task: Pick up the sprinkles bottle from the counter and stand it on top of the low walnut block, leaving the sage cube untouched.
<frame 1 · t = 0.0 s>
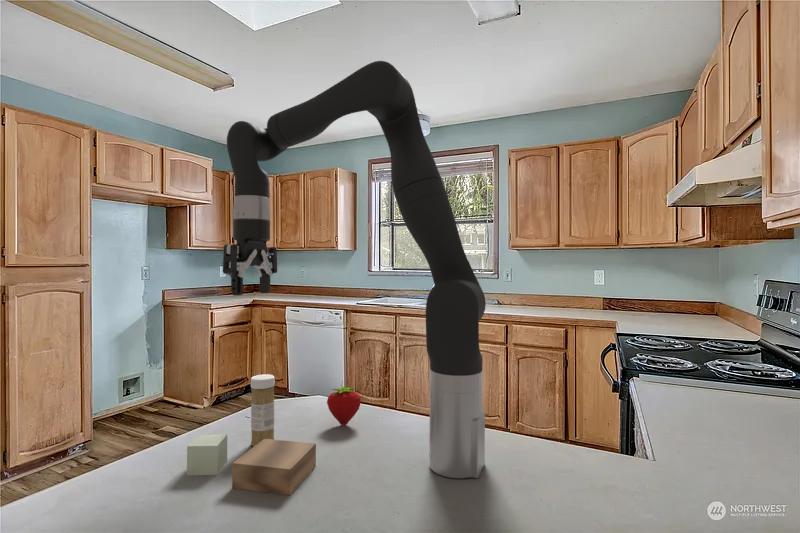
hand: (251, 294, 94), 29 cm above the countertop, tool pointing down, fingers open, 8 cm apart
sage cube: (207, 468, 76), on the countertop
sprinkles bottle: (262, 445, 87), on the countertop
walnut block: (276, 476, 74), on the countertop
strawberry: (343, 426, 97), on the countertop
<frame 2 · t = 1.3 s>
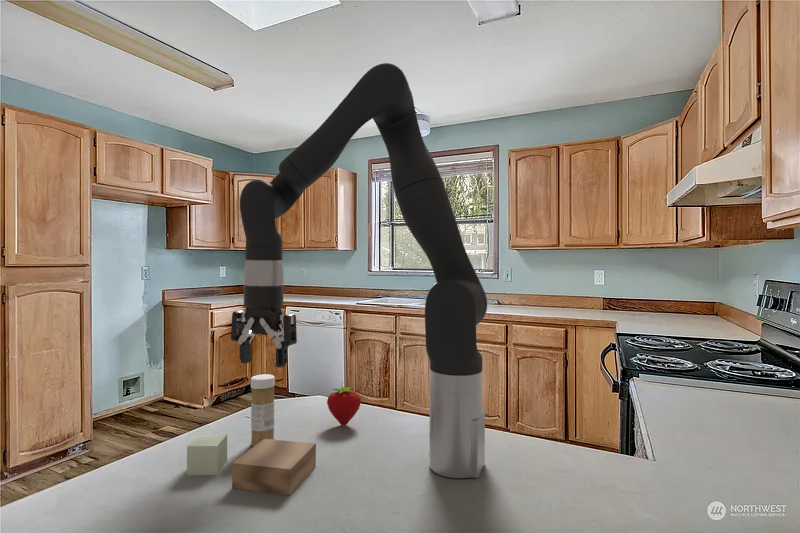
hand: (263, 364, 87), 16 cm above the countertop, tool pointing down, fingers open, 8 cm apart
nothing on the countertop moved.
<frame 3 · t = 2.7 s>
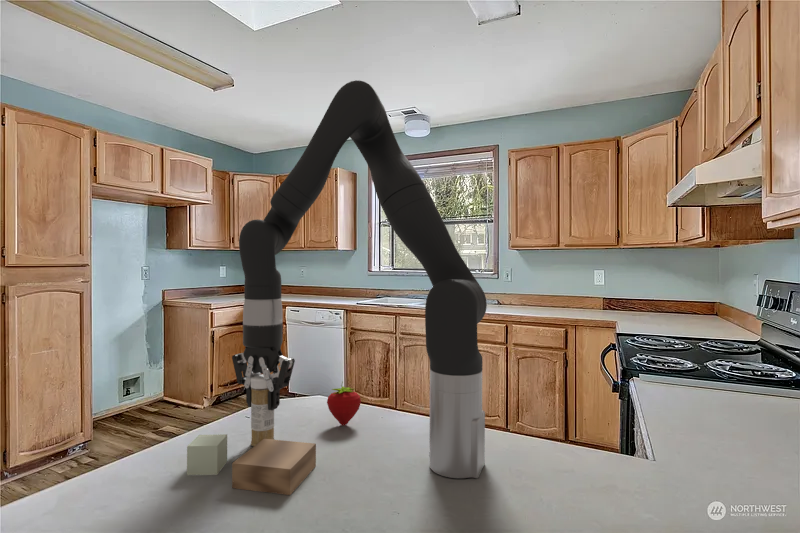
hand: (262, 407, 87), 7 cm above the countertop, tool pointing down, fingers closed on sprinkles bottle, 4 cm apart
sprinkles bottle: (262, 445, 87), on the countertop, touching gripper
everything else where it was.
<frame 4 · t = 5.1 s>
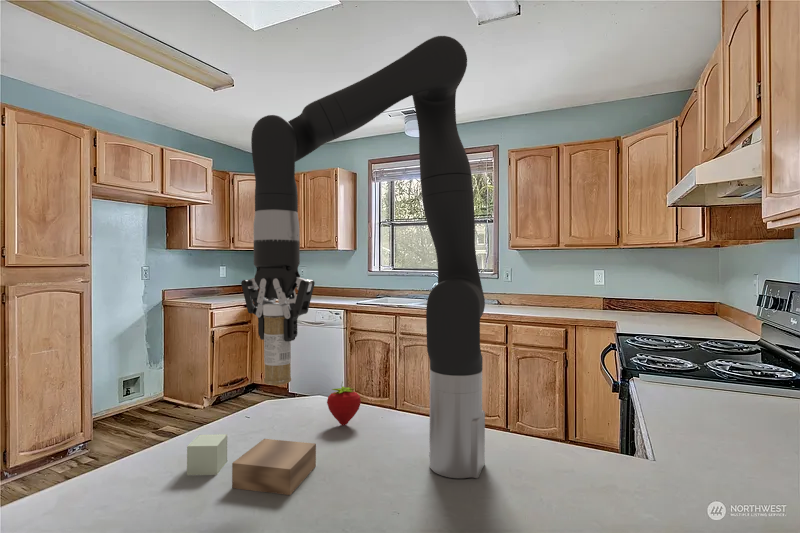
hand: (277, 339, 74), 23 cm above the countertop, tool pointing down, fingers closed on sprinkles bottle, 4 cm apart
sprinkles bottle: (277, 383, 74), point 15 cm above the countertop, touching gripper
everything else where it was.
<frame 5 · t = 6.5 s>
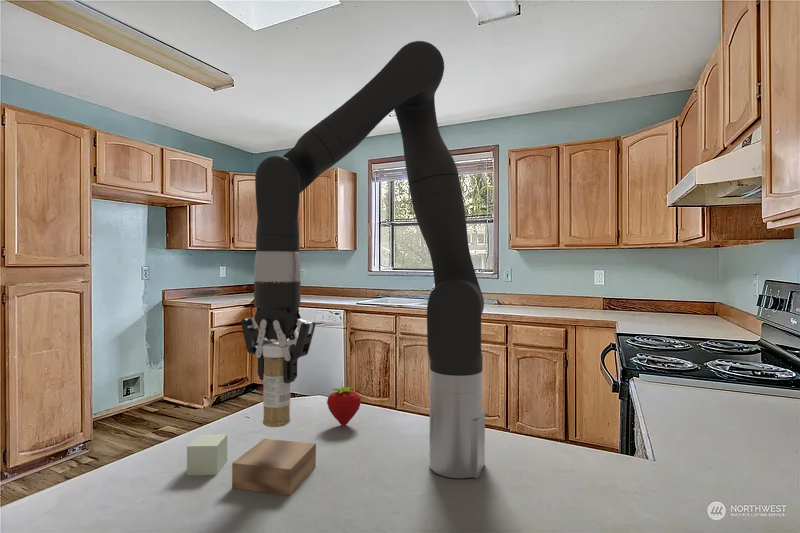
hand: (277, 380, 74), 16 cm above the countertop, tool pointing down, fingers closed on sprinkles bottle, 4 cm apart
sprinkles bottle: (276, 424, 74), point 9 cm above the countertop, touching gripper
everything else where it was.
when the fingers open (12 cm above the countertop, at t = 7.6 s): sprinkles bottle drops 1 cm, resting on walnut block.
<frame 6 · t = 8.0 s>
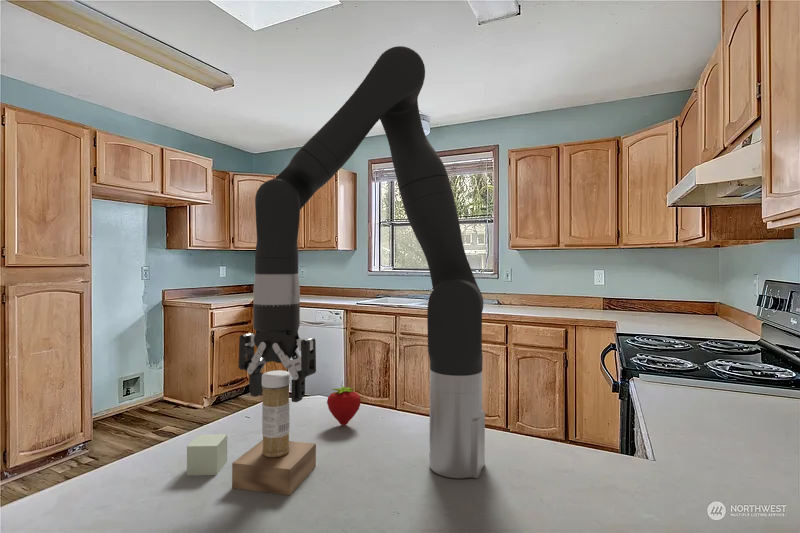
hand: (276, 398, 73), 13 cm above the countertop, tool pointing down, fingers open, 8 cm apart
sprinkles bottle: (275, 453, 73), point 4 cm above the countertop, touching walnut block
everything else where it was.
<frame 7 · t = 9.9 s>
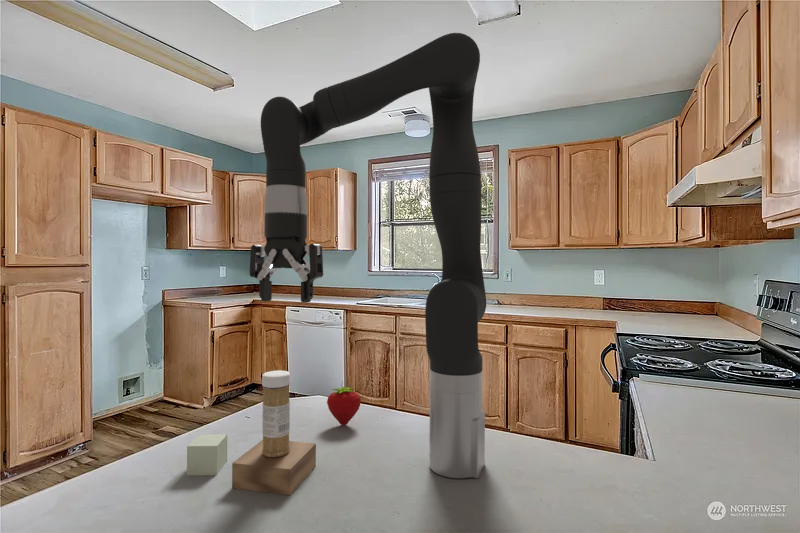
hand: (285, 301, 80), 29 cm above the countertop, tool pointing down, fingers open, 8 cm apart
nothing on the countertop moved.
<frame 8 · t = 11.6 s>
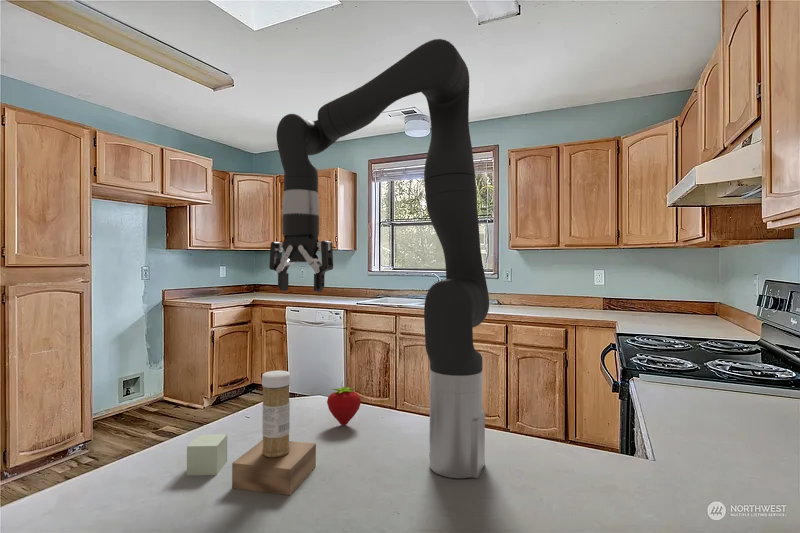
hand: (300, 291, 92), 30 cm above the countertop, tool pointing down, fingers open, 8 cm apart
nothing on the countertop moved.
at the end: sprinkles bottle inside the target area on the walnut block (0.1 cm from its centre), point 3.8 cm above the walnut block's base; sprinkles bottle tilted 0°; the gripper is holding nothing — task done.
